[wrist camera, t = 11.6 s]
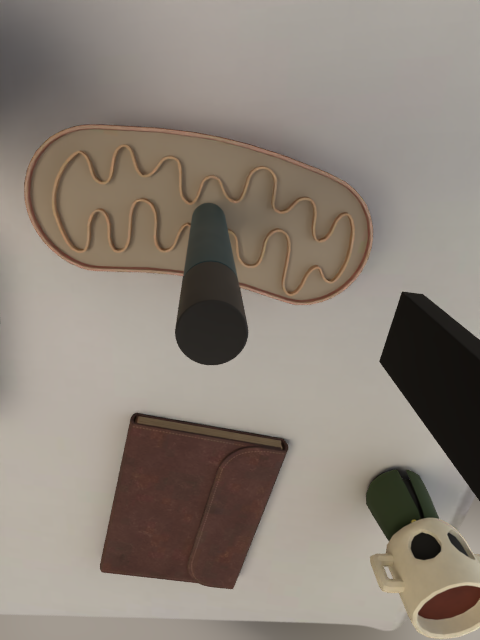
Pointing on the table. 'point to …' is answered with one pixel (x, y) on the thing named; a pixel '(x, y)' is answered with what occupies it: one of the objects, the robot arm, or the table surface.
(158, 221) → the anatomical model
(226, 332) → the pen
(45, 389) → the table surface
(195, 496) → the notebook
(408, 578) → the character mug
